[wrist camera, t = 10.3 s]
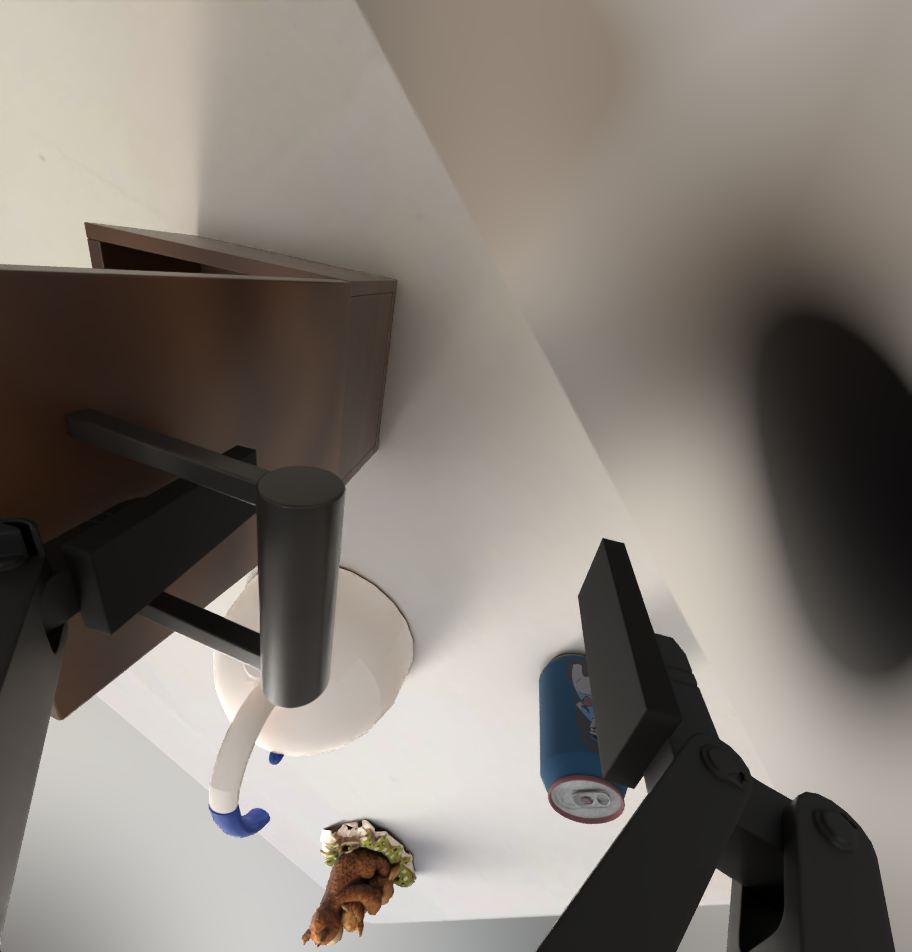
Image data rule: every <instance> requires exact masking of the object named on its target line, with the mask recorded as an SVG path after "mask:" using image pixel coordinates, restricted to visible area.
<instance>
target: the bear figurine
mask: <svg viewBox="0 0 912 952" xmlns="http://www.w3.org/2000/svg"><path fill="white" fill-rule="evenodd" d="M345 824H346V825H348V826H351V827H353V828H352V829H351V830H348V828H347V826H346V825H345ZM331 832H332V830H331V831H330V830H322V834H321V838H320V841H321V842H323V851H322V850H320V852H321V853H322V855H323V856H324V857H326V858H327V859H325V863H326V864H328V865H329V866H332V867H333V868H332V871H331V873H330V878H329V881H328V884H327V888H326V892H325V894H324V896H323V898H322V901H321V903H320V907H319V908H318V909H317V911H316V912H315V913H314V915H313V917H312V920H311V924H310V928H309V929H308V930H307V931H306V933H305V934H304V935H303V936H302V940H303V942H304V944H305V943H306V942H307V941H308V940H309V939H310V938H311V939H312V940H314V942H315V944H318V945H317V946H318V947H319V946H320V945H327V944H329V945H334V944H336V943H337V942H338V941H340V940H341V938H342V934H343V926H344V928H345V929H346V930H347V931H348V932H353V931H355V930H357V934H358V937H360V936H361V935H362V931H363V927H364V924H363V918H364V914H365V913H366V912H367V911H368V913H369V914H370V915H376V913H377V912H378V911H379V909H380V908H381V905H384V904H386V903H388V902H389V899H390V898H391V897H392V895H393V893H394V888H393V884H394V883H395V884H396V885H398V886H401V887H409V886H411V885H412V884H413V883H414V882H415V881H414V879H415V880H416V875H415V871H414V867H413V864H412V859H413V857H412V855H410V854H411V853H410V852H409V853H410V854H407V853H406V852H405V851H404V848H403V847H404V846H403V845H401V844H400V843H399V842H397V841H396V840H395V839H394V838H392V837H391V836H390V835H389V834H388V833H387V832H386V831H382V832H375V829H374V827H373V826H372V825H371V824H370V823H369V822H368V821H367V820H362V826H361V827H358V823H344V824H343V825H342V827H341V828H340V829H339V830H338V831H337V832H334V833H333V834H332V833H331ZM407 850H408V849H407Z"/></svg>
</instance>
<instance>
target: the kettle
mask: <svg viewBox="0 0 912 952" xmlns="http://www.w3.org/2000/svg"><path fill="white" fill-rule="evenodd" d="M225 618H226V619H228V620H231V621H233V622H235V623H237V624H240V625H242V626H244V627H247V628H249V629H251V630H253V631H256V632H258V633H260V622H259V586H258V574H257V575H256V576H255V577H254V578H252V579H251V580H250V581H249V582H248V584H247V586H246V588H245V589H244V590H243V592H242V593H241V594H240V596H239V597H238V598H237V600H236V601H235V602H234V604H233V605H232V606H231V608H230V609H229V610H228V612H227V614H226V616H225ZM412 661H413V639H412V637H411V634H410V631H409V628H408V625H407V622H406V621H405V619H404V618H403V616H402V615H401V613H400V612H399V611H398V609H397V608H396V606H395V605H394V603H393V602H392V601H391V600H390V599H389V598H387V597H386V596H385V595H384V594H383V593H382V592H381V591H380V590H379V589H378V588H377V587H375V586H374V585H373V584H371V583H369V582H368V581H366V580H364V579H363V578H361V577H359V576H358V575H356V574H354V573H353V572H350V571H347V570H344V569H342V568H339V574H338V586H337V598H336V610H335V622H334V634H333V646H332V658H331V670H330V679H329V683H328V685H327V687H326V689H325V690H324V692H323V693H322V694H321V695H320V696H319V697H318V698H317V699H316V700H314V701H313V702H311V703H309V704H307V705H305V706H302V707H298V708H282V707H278V706H276V705H274V704H272V703H271V702H270V701H268V700H267V699H266V697H265V696H264V694H263V692H262V688H261V670H259V669H256V668H254V667H252V666H250V665H248V664H245V663H243V662H241V661H239V660H237V659H234V658H232V657H230V656H228V655H226V654H224V653H221V652H219V651H217V650H215V649H214V679H215V687H216V690H217V694H218V697H219V700H220V702H221V704H222V706H223V709H224V711H225V713H226V715H227V717H228V718H229V720H230V722H231V725H230V727H229V729H228V731H227V733H226V736H225V738H224V740H223V743H222V745H221V748H220V750H219V753H218V755H217V758H216V762H215V765H214V769H213V773H212V776H211V780H210V790H209V810H210V812H211V815H212V817H213V820H214V821H215V823H216V824H217V825H218V826H219V827H220V828H221V829H222V830H223V831H224V832H225V833H226V834H228V835H231V836H234V837H239V838H243V837H247V836H250V835H253V834H255V833H257V832H258V831H260V830H261V829H262V828H263V827H264V826H265V825H266V824H267V823H268V822H269V821H270V816H269V814H268V813H267V812H266V811H265V810H263V809H259V808H255V809H252V810H251V811H250V812H249V813H247V814H246V815H244V816H241V813H240V809H239V805H238V799H239V792H240V787H241V783H242V780H243V776H244V772H245V769H246V765H247V763H248V760H249V758H250V755H251V752H252V750H253V747H254V745H255V744H256V745H258V746H260V747H262V748H264V749H266V750H269V751H271V752H270V755H269V762H270V763H271V764H273V765H276V764H278V763H279V762H280V761H281V759H282V758H283V756H284V755H287V756H307V755H313V754H318V753H324V752H329V751H334V750H336V749H338V748H340V747H342V746H344V745H346V744H348V743H349V742H351V741H353V740H355V739H357V738H359V737H360V736H362V735H364V734H366V733H367V732H368V731H369V730H370V729H371V728H372V727H373V726H374V725H375V724H376V723H377V721H378V720H379V719H380V718H381V717H382V716H383V715H384V714H385V713H386V712H387V711H388V709H389V708H390V707H391V706H392V705H393V704H394V702H395V699H396V697H397V695H398V692H399V690H400V688H401V686H402V683H403V681H404V679H405V677H406V675H407V674H408V672H409V669H410V666H411V664H412Z"/></svg>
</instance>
